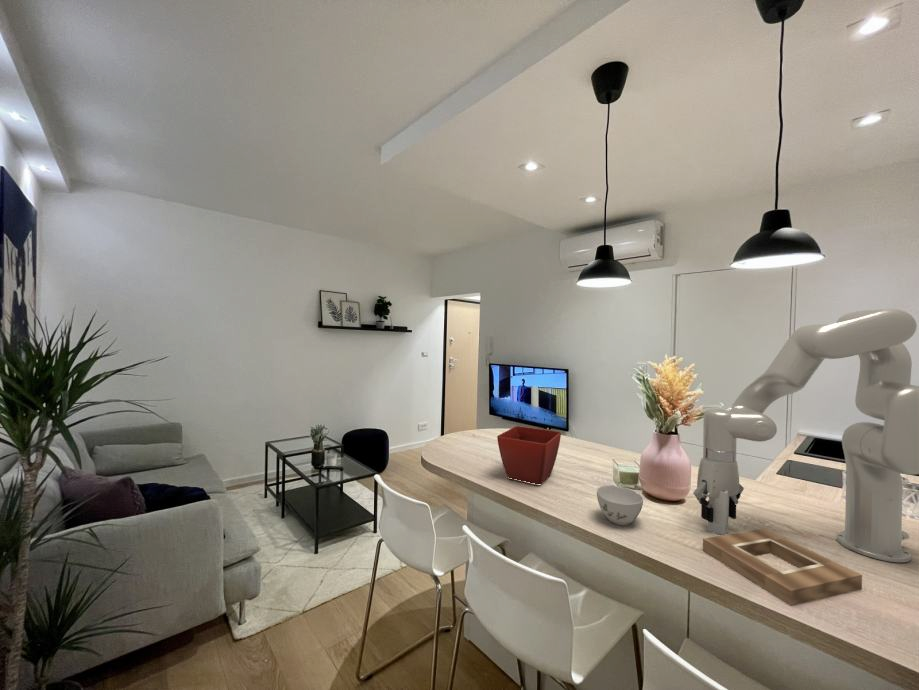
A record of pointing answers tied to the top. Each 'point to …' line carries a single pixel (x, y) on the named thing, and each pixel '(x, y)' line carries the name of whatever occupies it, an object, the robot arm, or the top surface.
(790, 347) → the robot arm
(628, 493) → the teacup
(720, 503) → the skincare box
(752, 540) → the picture frame
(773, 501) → the top surface
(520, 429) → the plant pot
